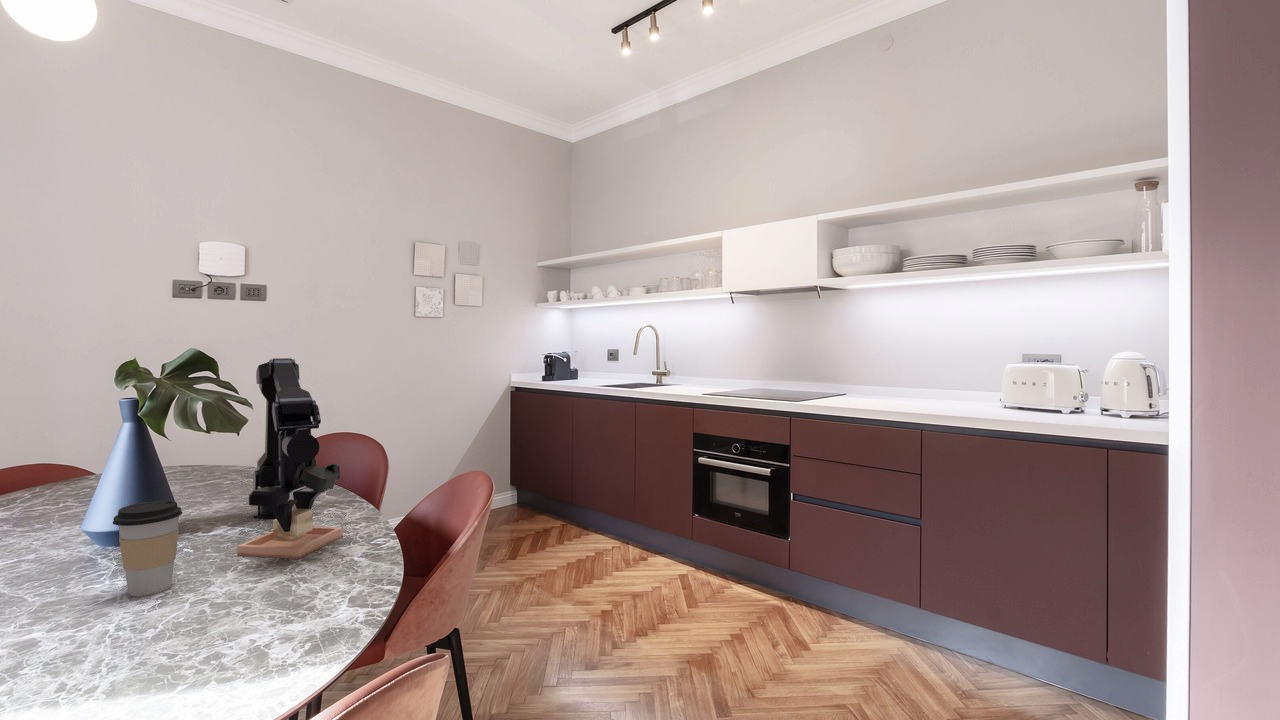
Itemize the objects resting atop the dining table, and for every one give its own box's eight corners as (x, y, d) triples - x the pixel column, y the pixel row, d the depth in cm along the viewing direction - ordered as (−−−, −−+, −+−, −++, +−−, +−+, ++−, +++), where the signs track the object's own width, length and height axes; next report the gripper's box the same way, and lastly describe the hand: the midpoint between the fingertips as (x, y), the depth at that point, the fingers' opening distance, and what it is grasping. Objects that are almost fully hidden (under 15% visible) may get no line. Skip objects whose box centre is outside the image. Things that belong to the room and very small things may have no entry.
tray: (237, 555, 119) (237, 546, 119) (286, 533, 133) (286, 525, 133) (299, 559, 117) (299, 549, 117) (342, 536, 131) (342, 527, 131)
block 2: (273, 540, 126) (273, 520, 126) (288, 533, 131) (288, 514, 131) (292, 541, 126) (291, 521, 126) (306, 534, 130) (306, 515, 130)
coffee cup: (196, 580, 106) (195, 500, 106) (148, 602, 97) (147, 515, 97) (150, 577, 107) (149, 498, 107) (98, 599, 98) (96, 513, 97)
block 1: (277, 535, 120) (277, 514, 119) (293, 528, 124) (293, 508, 124) (297, 536, 119) (297, 515, 119) (312, 529, 123) (312, 509, 123)
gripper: (298, 465, 111) (299, 545, 111) (357, 448, 129) (357, 516, 130) (246, 463, 112) (246, 542, 113) (311, 446, 131) (311, 514, 131)
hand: (295, 527), depth 121 cm, fingers closed on block 1, 4 cm apart
